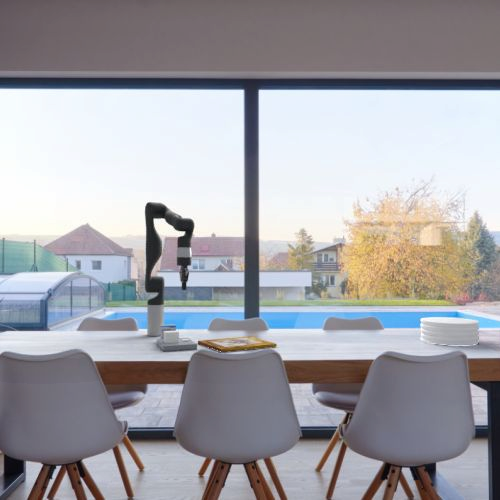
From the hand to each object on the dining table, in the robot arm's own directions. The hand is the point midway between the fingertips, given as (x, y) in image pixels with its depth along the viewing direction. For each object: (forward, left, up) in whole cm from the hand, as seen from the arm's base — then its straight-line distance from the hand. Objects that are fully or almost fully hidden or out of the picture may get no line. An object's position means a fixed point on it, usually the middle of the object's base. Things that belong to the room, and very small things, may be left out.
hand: (184, 290), depth 242 cm
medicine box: (-6, -7, -27) cm, 29 cm away
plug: (+11, -8, -26) cm, 30 cm away
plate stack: (+45, +130, -27) cm, 140 cm away
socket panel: (+11, -6, -27) cm, 30 cm away
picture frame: (+17, +23, -28) cm, 40 cm away
